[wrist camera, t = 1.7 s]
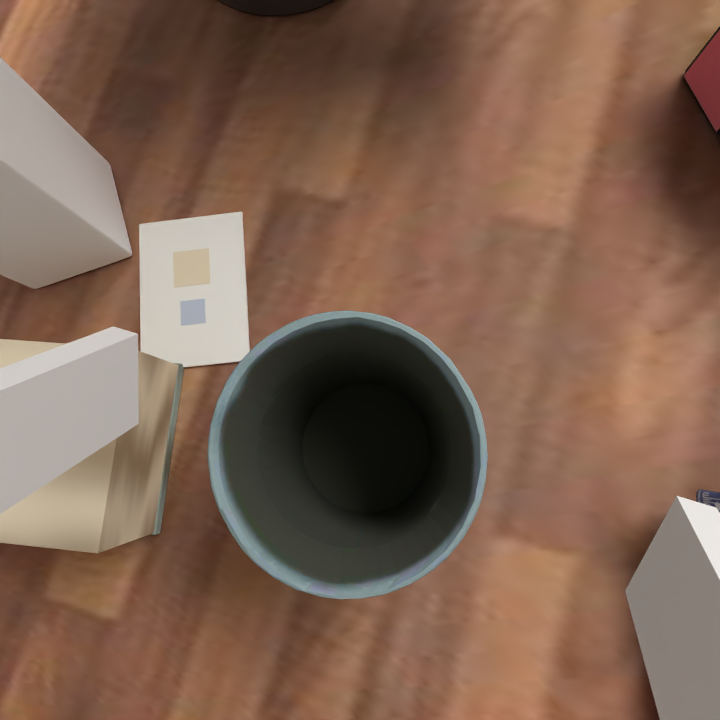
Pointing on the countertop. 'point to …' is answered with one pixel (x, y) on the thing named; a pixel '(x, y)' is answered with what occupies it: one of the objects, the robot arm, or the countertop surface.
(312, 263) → the countertop surface
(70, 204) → the milk carton
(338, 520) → the grey green cup
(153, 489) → the base block
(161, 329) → the page
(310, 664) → the countertop surface
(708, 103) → the puzzle cube
